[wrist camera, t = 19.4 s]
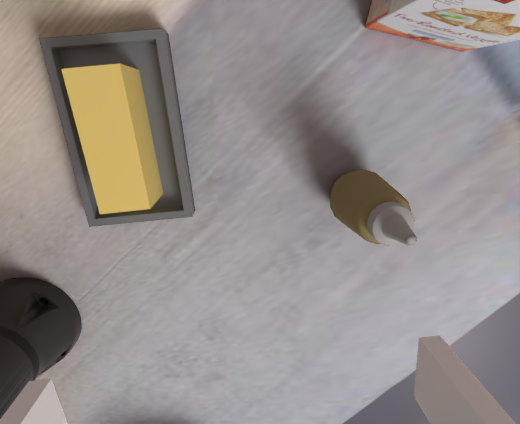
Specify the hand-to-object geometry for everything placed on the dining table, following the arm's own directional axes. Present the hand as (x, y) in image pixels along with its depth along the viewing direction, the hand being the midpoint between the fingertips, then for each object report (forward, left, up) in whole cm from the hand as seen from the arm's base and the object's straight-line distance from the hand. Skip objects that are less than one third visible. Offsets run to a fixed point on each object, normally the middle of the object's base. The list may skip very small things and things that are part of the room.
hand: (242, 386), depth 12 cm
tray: (-14, +7, -37) cm, 40 cm away
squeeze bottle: (+16, -4, -37) cm, 40 cm away
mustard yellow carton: (-14, +7, -36) cm, 39 cm away
